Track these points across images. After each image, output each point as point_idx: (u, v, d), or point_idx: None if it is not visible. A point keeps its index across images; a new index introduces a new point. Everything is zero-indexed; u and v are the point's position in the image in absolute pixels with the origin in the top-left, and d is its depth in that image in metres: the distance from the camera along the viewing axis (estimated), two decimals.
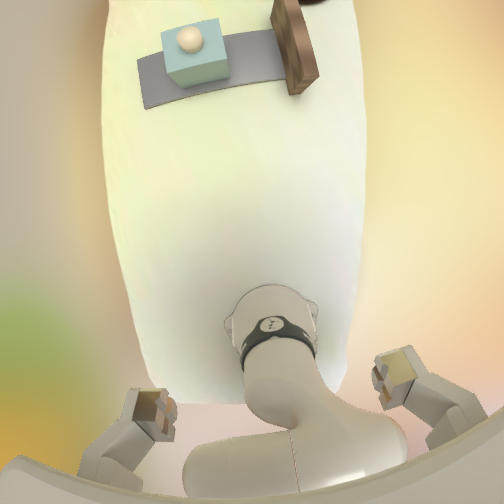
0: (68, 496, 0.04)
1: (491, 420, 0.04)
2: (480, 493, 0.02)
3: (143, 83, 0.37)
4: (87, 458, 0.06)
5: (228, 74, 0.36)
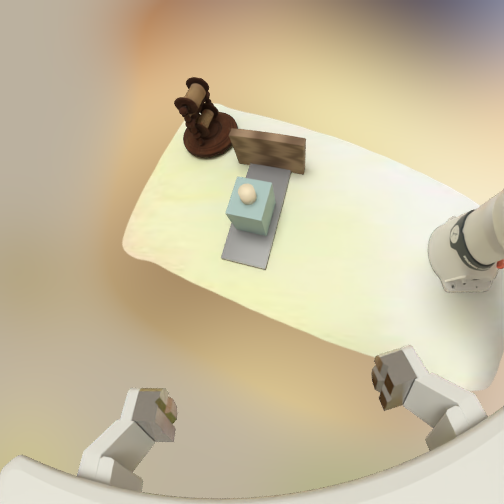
0: (69, 496, 0.04)
1: (491, 419, 0.04)
2: (480, 493, 0.02)
3: (245, 260, 0.60)
4: (87, 458, 0.06)
5: (274, 199, 0.59)
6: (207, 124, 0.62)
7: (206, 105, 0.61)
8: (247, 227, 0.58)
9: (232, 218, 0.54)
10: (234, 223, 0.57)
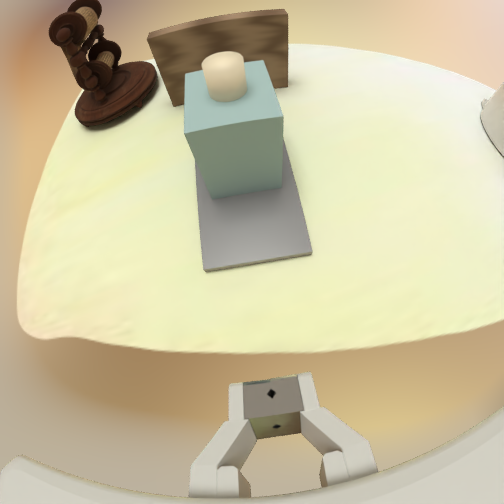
0: (69, 496, 0.04)
1: (491, 419, 0.04)
2: (480, 493, 0.02)
3: (260, 253, 0.25)
4: (198, 473, 0.06)
5: None
6: None
7: (101, 44, 0.27)
8: (240, 174, 0.24)
9: (203, 150, 0.20)
10: (208, 174, 0.23)
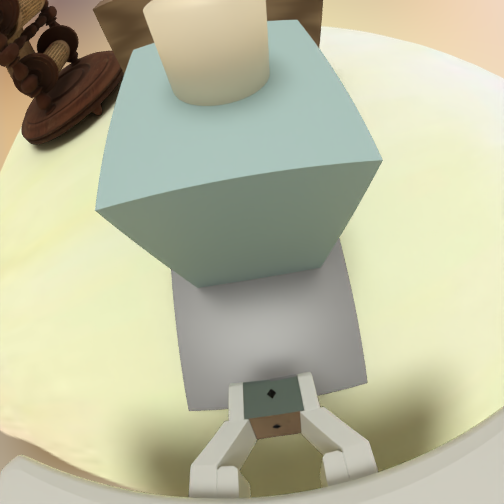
0: (69, 496, 0.04)
1: (491, 420, 0.04)
2: (480, 493, 0.02)
3: None
4: (198, 473, 0.06)
5: None
6: (54, 61, 0.17)
7: (51, 32, 0.16)
8: (248, 261, 0.12)
9: (160, 237, 0.08)
10: (182, 266, 0.11)
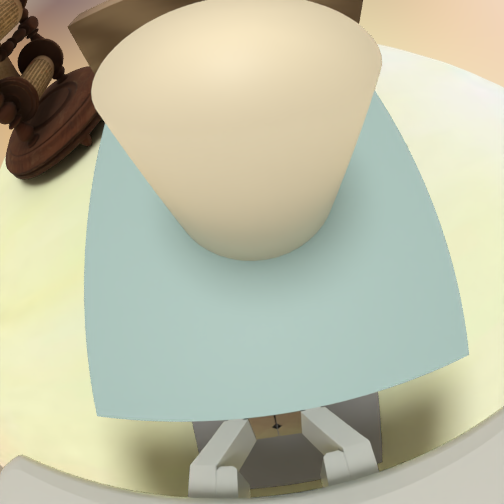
0: (68, 495, 0.04)
1: (491, 419, 0.04)
2: (480, 493, 0.02)
3: (302, 474, 0.11)
4: (198, 473, 0.06)
5: None
6: (35, 82, 0.14)
7: (32, 46, 0.13)
8: None
9: None
10: None
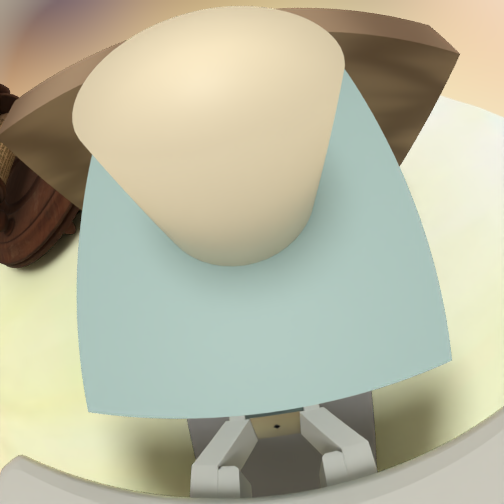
0: (69, 496, 0.04)
1: (491, 420, 0.04)
2: (480, 493, 0.02)
3: None
4: (199, 473, 0.06)
5: None
6: None
7: None
8: None
9: None
10: None
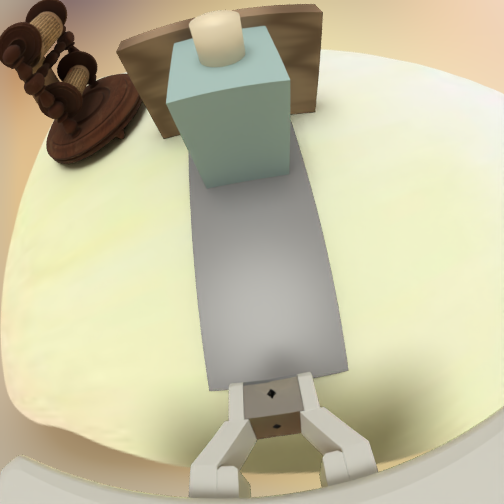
0: (69, 496, 0.04)
1: (492, 419, 0.04)
2: (480, 493, 0.02)
3: (282, 374, 0.18)
4: (198, 473, 0.06)
5: None
6: (77, 87, 0.22)
7: (70, 57, 0.20)
8: (238, 156, 0.19)
9: (191, 126, 0.15)
10: (199, 156, 0.19)
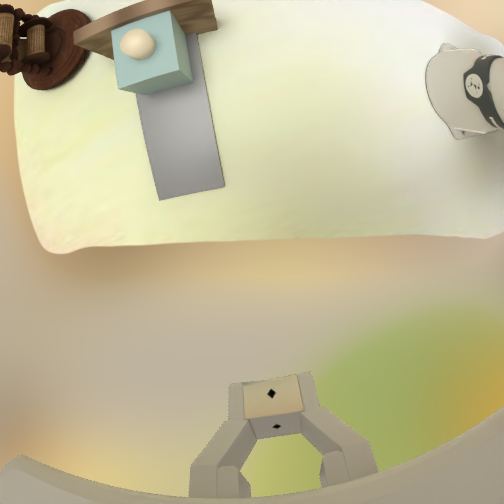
0: (69, 496, 0.04)
1: (492, 420, 0.04)
2: (480, 493, 0.02)
3: (192, 189, 0.39)
4: (198, 473, 0.06)
5: (182, 31, 0.27)
6: (41, 45, 0.21)
7: (26, 24, 0.16)
8: (160, 86, 0.29)
9: (132, 88, 0.25)
10: (139, 91, 0.28)
